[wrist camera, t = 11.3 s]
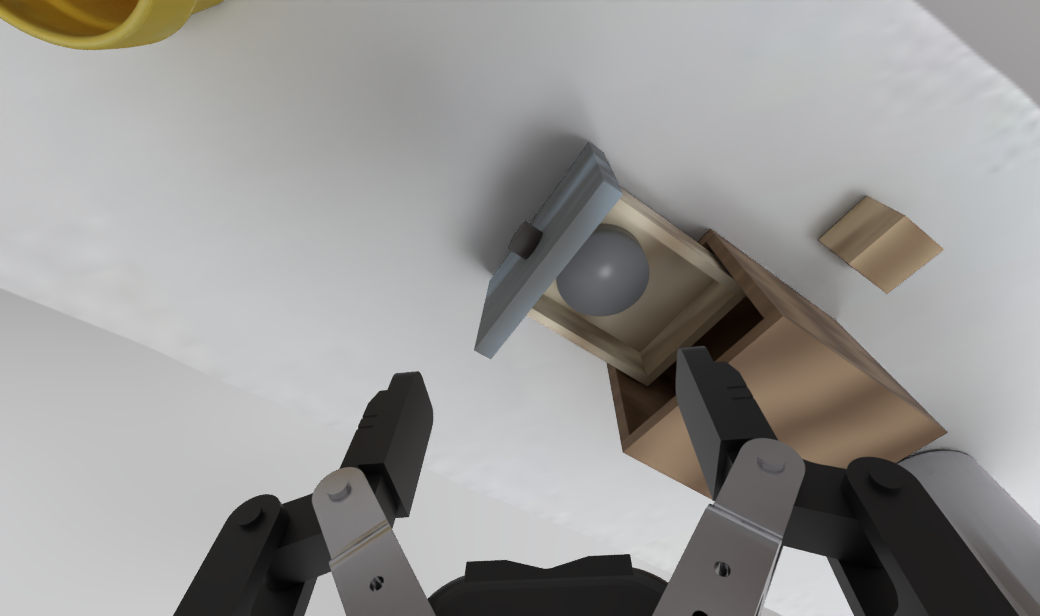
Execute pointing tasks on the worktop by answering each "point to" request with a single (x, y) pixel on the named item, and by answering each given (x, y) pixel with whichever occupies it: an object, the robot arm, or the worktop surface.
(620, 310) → the disc
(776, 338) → the housing
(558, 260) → the drawer
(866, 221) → the wooden block
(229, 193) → the worktop surface
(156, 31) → the plant pot
